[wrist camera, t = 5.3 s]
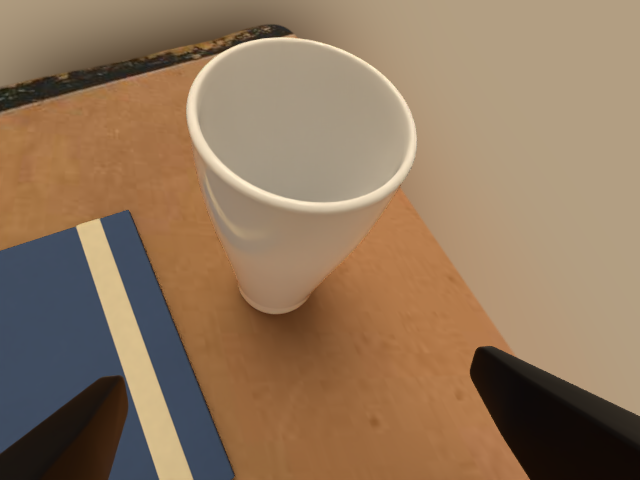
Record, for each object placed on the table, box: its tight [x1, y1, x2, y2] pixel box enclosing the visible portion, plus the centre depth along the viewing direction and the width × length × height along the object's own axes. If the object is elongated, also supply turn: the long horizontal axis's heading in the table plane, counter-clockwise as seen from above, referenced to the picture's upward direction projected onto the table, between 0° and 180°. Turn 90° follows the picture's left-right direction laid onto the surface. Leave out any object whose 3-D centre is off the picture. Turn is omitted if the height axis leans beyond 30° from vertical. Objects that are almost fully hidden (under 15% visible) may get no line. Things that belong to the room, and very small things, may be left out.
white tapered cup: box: [186, 37, 417, 314], centre depth 15 cm, size 7×7×15 cm
